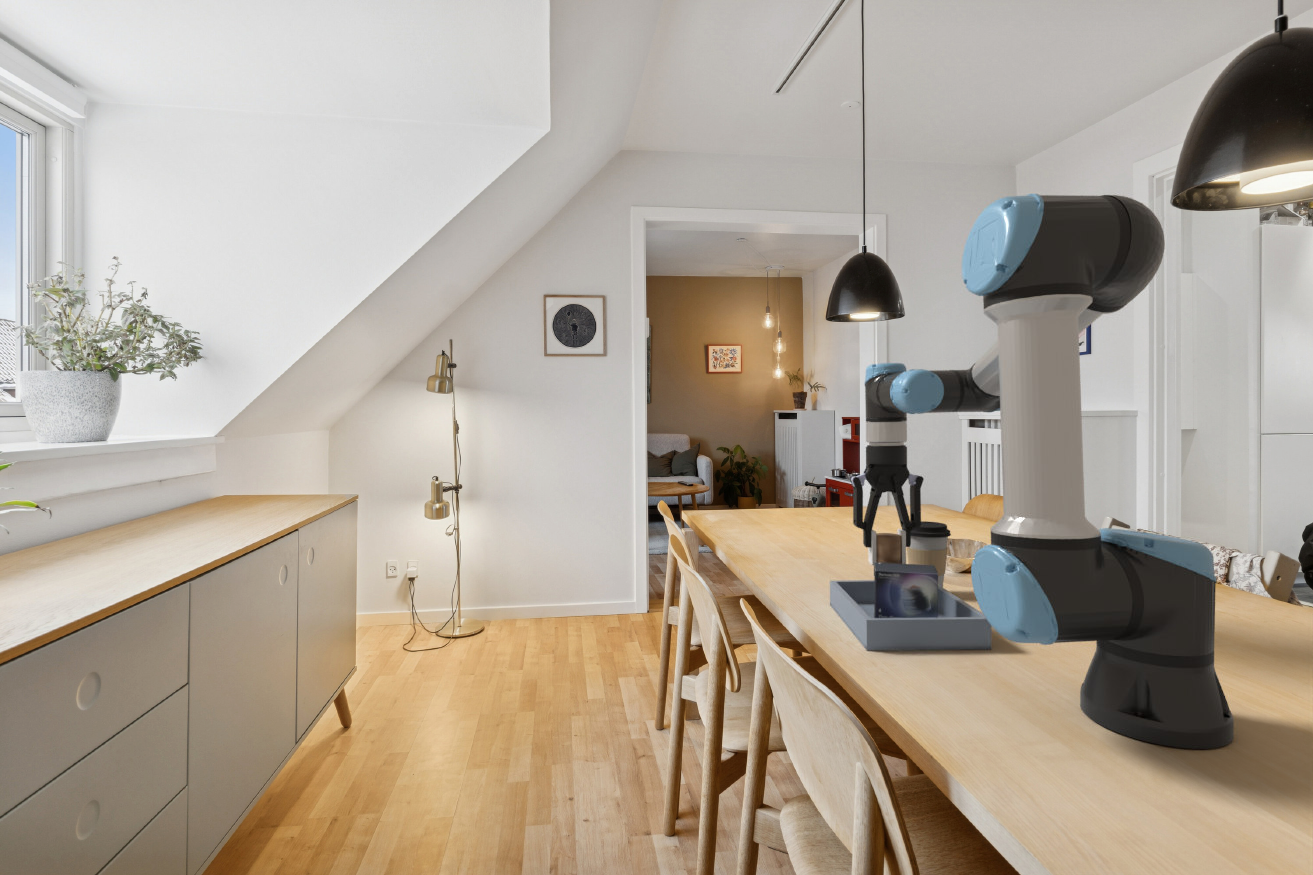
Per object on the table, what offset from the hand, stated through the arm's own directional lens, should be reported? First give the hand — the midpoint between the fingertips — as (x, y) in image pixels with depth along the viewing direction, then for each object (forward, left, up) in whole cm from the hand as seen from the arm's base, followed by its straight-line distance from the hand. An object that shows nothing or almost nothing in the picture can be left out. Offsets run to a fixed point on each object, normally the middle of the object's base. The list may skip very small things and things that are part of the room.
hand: (887, 563), depth 128 cm
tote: (-8, 0, -9) cm, 13 cm away
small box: (-10, 0, -9) cm, 14 cm away
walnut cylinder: (0, 0, -2) cm, 2 cm away
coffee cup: (+12, -12, -10) cm, 19 cm away
